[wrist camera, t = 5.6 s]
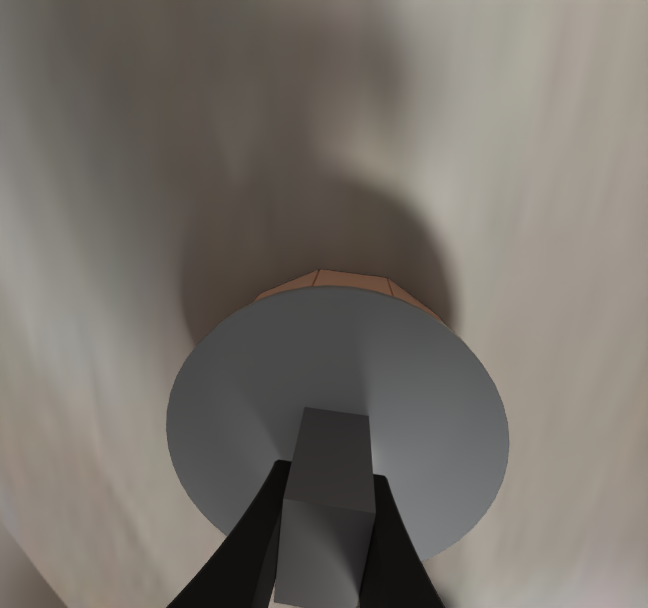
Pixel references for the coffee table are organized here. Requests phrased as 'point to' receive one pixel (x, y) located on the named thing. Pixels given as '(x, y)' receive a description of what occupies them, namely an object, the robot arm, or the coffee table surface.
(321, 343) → the lid
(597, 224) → the coffee table surface
